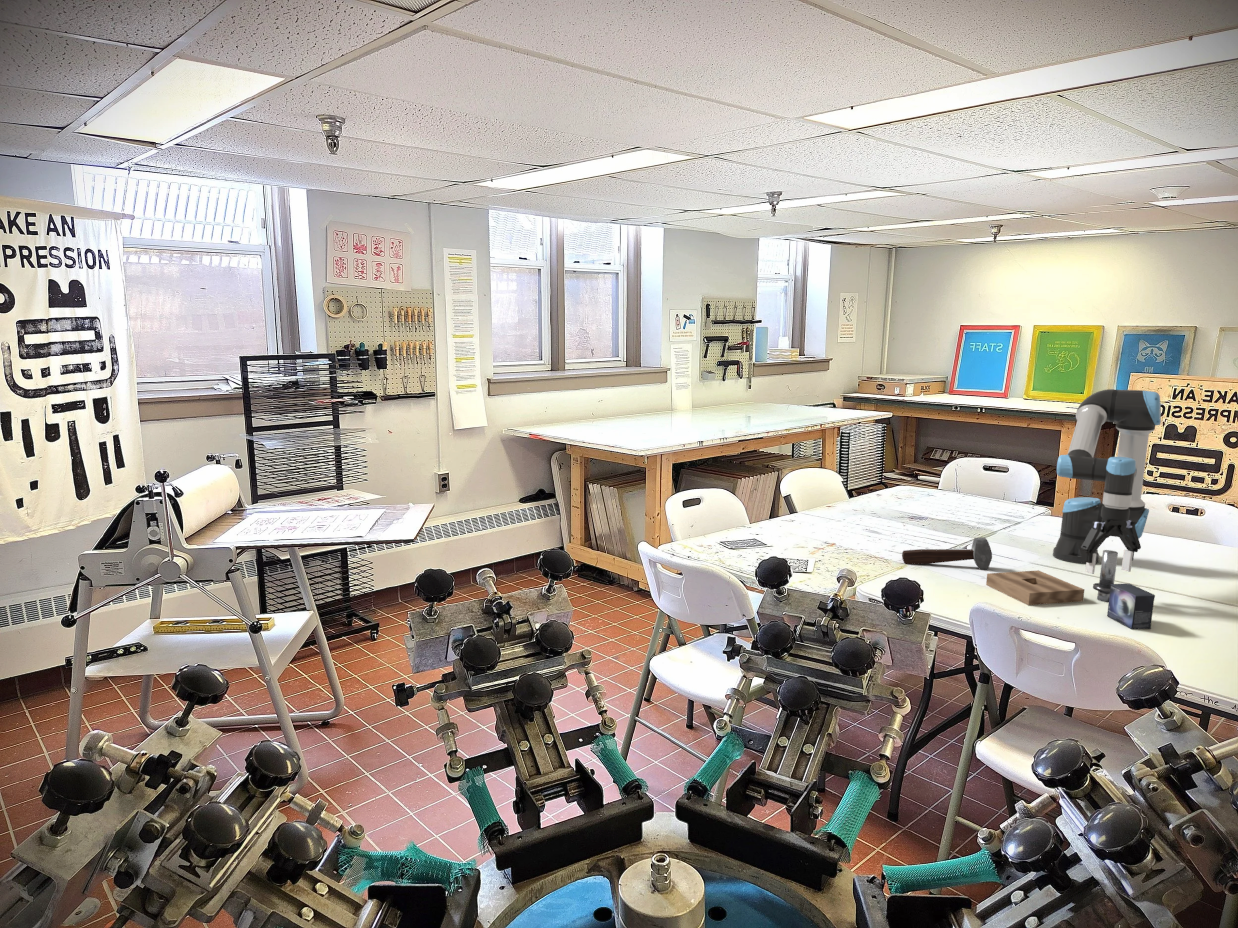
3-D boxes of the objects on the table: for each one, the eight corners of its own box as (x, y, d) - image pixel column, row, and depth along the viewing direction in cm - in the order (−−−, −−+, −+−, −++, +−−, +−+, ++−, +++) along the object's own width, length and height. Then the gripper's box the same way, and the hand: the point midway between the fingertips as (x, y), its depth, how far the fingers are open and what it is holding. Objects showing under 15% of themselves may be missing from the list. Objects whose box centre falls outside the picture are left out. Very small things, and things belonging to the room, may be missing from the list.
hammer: (904, 574, 284) (992, 570, 277) (902, 544, 282) (991, 539, 275) (902, 570, 288) (989, 566, 281) (900, 541, 287) (987, 536, 280)
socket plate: (1037, 581, 265) (1038, 570, 265) (1083, 601, 246) (1084, 589, 245) (986, 584, 261) (987, 573, 260) (1028, 605, 242) (1029, 593, 241)
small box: (1104, 616, 233) (1109, 583, 232) (1125, 615, 234) (1129, 582, 232) (1130, 629, 223) (1135, 595, 221) (1151, 629, 224) (1156, 594, 222)
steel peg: (1104, 595, 252) (1110, 548, 249) (1122, 603, 245) (1129, 554, 242) (1086, 596, 250) (1092, 549, 248) (1104, 604, 244) (1110, 555, 241)
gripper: (1139, 502, 248) (1131, 566, 252) (1072, 505, 243) (1065, 569, 247) (1159, 507, 241) (1151, 573, 245) (1091, 510, 236) (1083, 577, 240)
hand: (1107, 571), depth 246 cm, fingers open, 13 cm apart
